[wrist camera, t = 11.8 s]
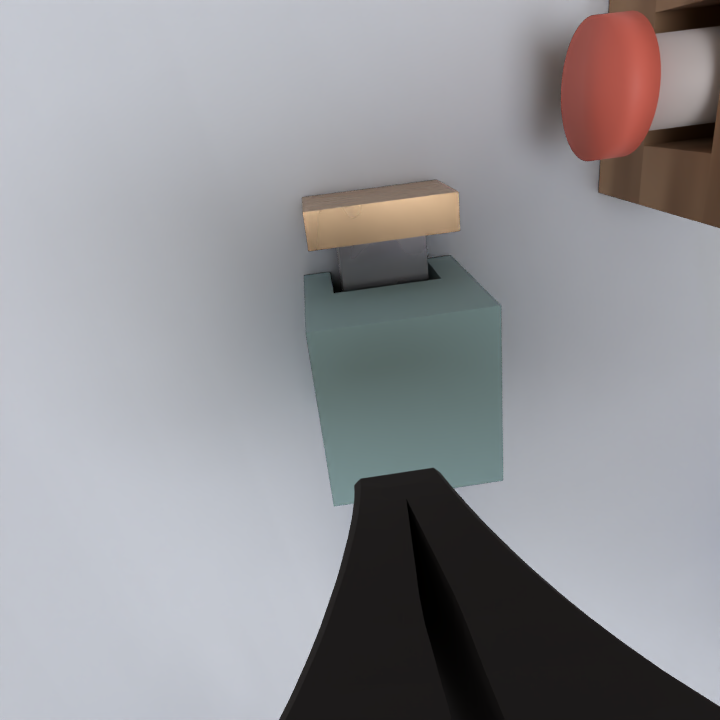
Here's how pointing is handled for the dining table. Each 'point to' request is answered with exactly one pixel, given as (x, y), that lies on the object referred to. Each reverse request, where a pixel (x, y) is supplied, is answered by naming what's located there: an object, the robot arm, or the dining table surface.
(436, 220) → the rail
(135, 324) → the dining table surface
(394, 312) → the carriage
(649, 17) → the cabinet
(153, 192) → the dining table surface
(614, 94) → the plunger
